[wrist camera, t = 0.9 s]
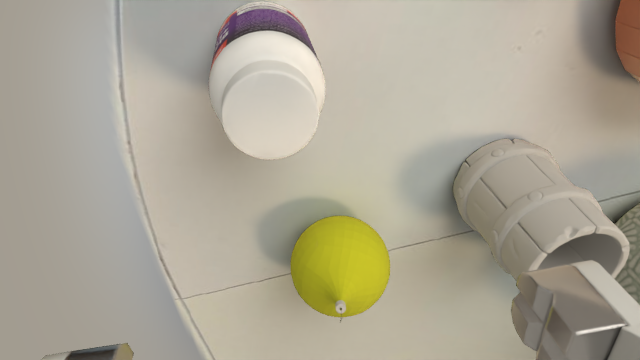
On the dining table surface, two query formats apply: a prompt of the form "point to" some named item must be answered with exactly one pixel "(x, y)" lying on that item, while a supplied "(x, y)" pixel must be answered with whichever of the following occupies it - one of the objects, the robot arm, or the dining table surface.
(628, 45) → the bowl
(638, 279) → the planter
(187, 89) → the dining table surface
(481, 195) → the mug
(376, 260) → the ornament
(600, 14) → the dining table surface
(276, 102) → the pill bottle
